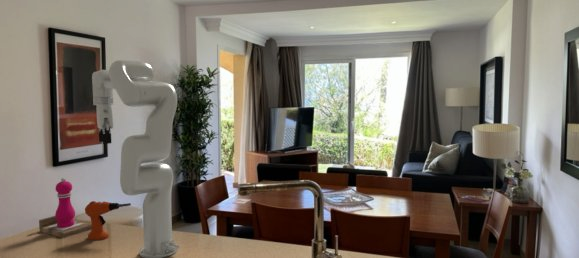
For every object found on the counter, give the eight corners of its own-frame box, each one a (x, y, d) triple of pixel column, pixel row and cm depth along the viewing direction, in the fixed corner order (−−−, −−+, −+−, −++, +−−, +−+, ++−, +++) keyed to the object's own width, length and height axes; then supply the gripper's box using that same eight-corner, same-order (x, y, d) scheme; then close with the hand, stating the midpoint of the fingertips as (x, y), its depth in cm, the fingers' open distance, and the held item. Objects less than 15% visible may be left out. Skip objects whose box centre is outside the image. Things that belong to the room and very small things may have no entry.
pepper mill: (51, 227, 162) (48, 179, 161) (64, 222, 170) (61, 175, 168) (67, 228, 161) (65, 179, 160) (79, 223, 168) (77, 176, 167)
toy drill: (132, 236, 153) (126, 198, 152) (85, 242, 155) (79, 204, 153) (138, 232, 158) (132, 195, 157) (92, 237, 159) (86, 200, 158)
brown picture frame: (91, 228, 167) (91, 217, 167) (64, 237, 157) (63, 225, 156) (67, 223, 175) (66, 212, 174) (39, 231, 164) (38, 220, 164)
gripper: (116, 101, 161) (118, 143, 162) (109, 101, 176) (111, 140, 177) (96, 101, 157) (98, 145, 158) (90, 101, 171) (92, 141, 173)
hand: (105, 142), depth 168 cm, fingers open, 9 cm apart
